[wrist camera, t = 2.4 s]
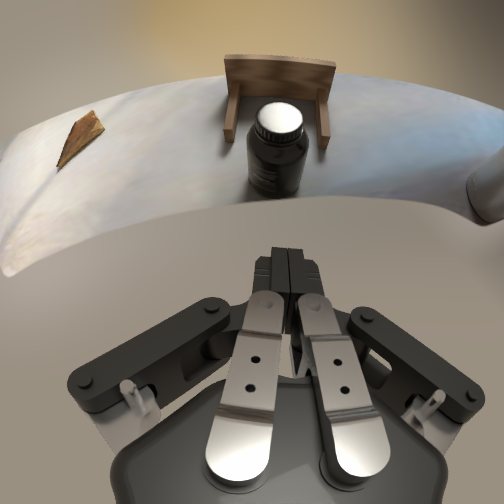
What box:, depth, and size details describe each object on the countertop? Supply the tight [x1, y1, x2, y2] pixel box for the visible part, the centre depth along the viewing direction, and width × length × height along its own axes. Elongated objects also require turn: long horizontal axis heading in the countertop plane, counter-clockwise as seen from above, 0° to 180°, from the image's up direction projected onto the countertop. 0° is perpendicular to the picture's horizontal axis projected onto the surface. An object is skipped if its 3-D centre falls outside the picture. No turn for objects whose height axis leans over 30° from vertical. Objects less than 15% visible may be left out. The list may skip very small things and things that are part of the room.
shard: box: [56, 110, 105, 167], centre depth 40 cm, size 11×8×2 cm
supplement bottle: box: [247, 102, 309, 199], centre depth 31 cm, size 7×7×12 cm
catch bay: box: [223, 55, 336, 149], centre depth 36 cm, size 16×11×8 cm
